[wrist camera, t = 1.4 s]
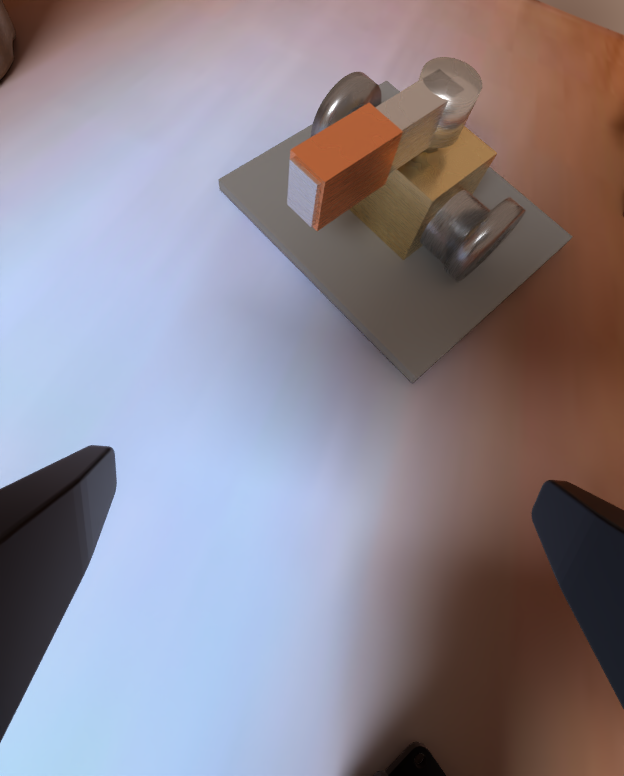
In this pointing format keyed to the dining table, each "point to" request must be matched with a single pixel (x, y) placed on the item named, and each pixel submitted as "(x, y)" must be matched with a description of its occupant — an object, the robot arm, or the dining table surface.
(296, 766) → the dining table surface
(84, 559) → the robot arm
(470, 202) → the valve body
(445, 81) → the valve lever
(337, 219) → the rubber mat
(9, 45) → the plant pot
